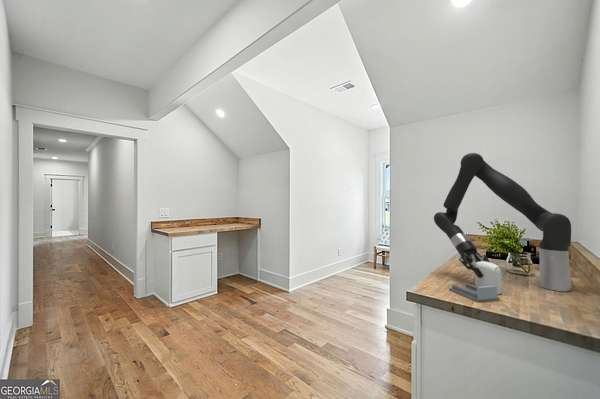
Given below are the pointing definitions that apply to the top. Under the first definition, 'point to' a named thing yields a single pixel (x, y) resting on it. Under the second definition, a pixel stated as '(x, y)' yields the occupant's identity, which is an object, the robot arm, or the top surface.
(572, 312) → the top surface
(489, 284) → the photo printer
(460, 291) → the charging dock
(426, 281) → the top surface
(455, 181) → the robot arm
